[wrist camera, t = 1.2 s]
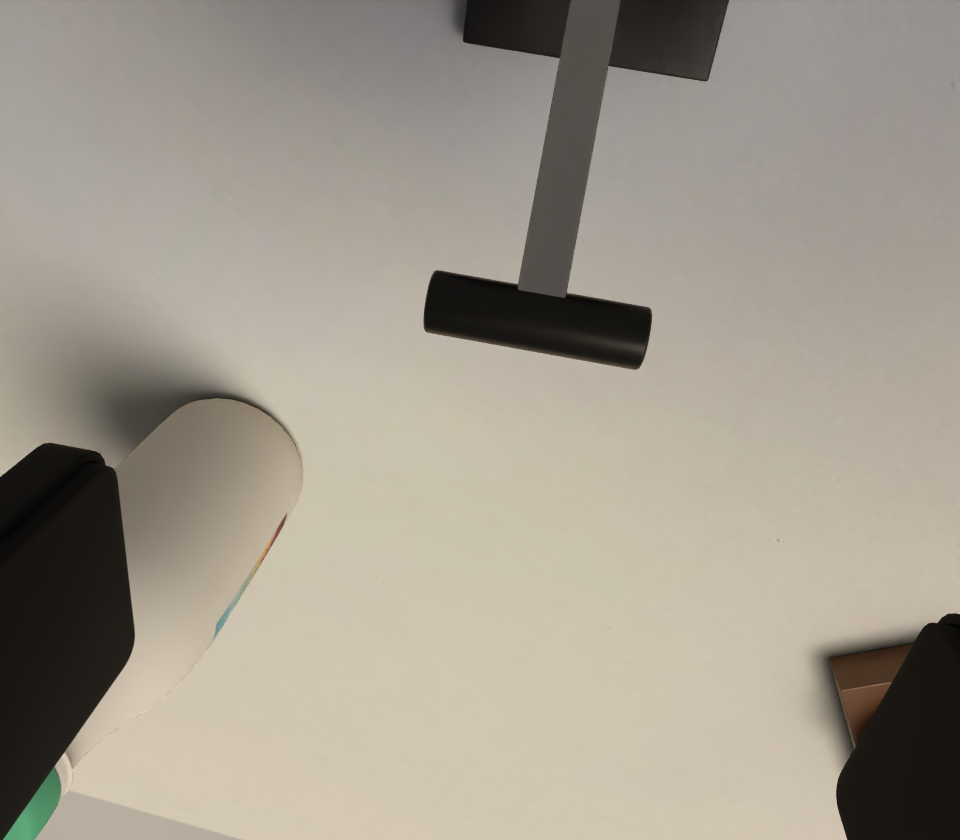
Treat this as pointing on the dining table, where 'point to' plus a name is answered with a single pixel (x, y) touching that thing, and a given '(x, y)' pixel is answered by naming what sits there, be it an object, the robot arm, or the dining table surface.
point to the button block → (865, 684)
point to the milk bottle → (184, 556)
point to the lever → (553, 231)
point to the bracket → (637, 39)
